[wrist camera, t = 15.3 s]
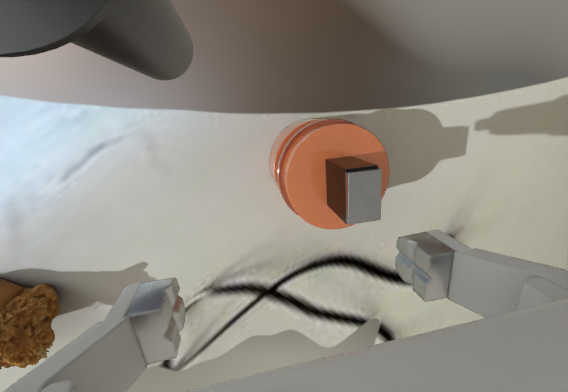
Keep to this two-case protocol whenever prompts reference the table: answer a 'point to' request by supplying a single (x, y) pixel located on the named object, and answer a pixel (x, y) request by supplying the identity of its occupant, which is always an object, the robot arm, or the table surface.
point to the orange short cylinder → (320, 164)
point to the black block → (353, 189)
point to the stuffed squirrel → (26, 323)
